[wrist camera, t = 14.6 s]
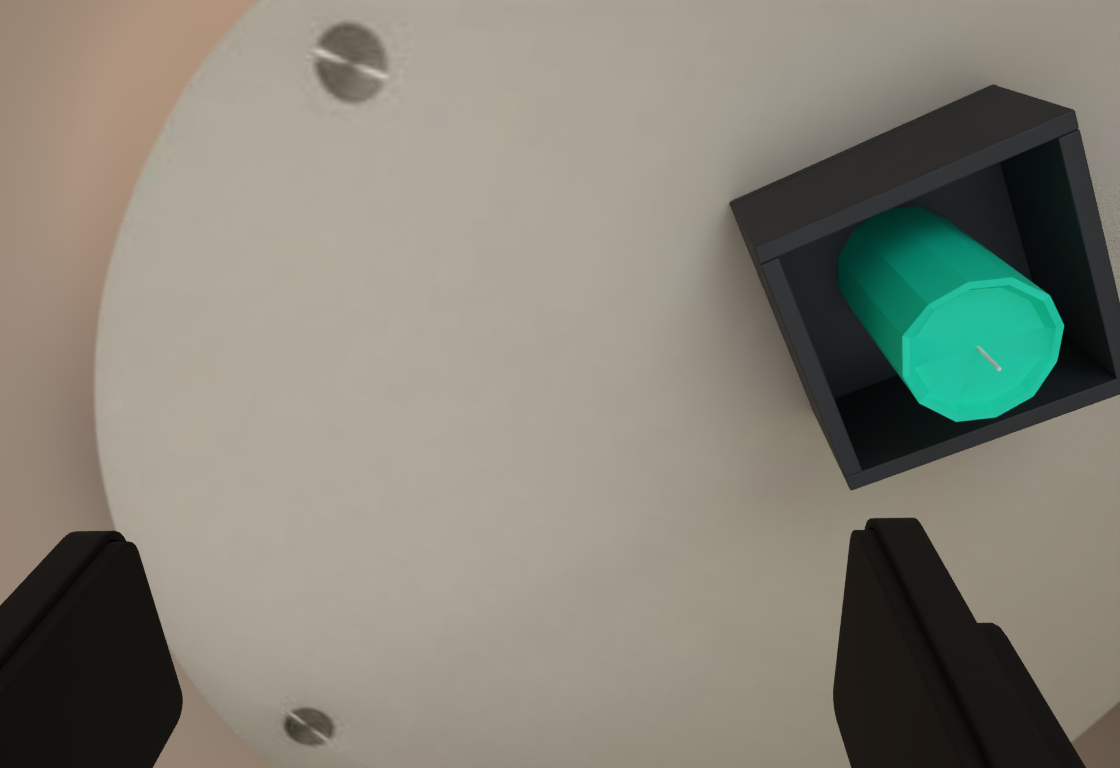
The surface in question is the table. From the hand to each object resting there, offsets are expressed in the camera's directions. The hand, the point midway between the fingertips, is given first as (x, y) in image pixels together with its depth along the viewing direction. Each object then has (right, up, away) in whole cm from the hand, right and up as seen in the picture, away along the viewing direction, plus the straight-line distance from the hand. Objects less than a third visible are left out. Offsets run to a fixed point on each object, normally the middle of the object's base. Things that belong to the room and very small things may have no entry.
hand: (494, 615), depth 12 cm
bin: (+17, +9, +32) cm, 37 cm away
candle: (+17, +9, +31) cm, 37 cm away
